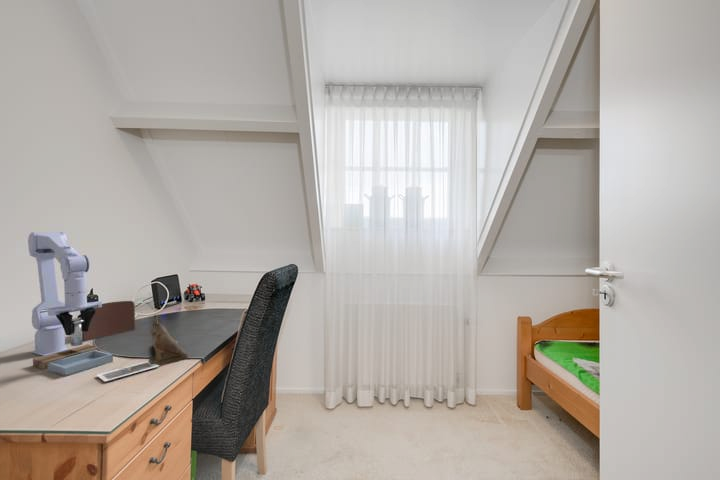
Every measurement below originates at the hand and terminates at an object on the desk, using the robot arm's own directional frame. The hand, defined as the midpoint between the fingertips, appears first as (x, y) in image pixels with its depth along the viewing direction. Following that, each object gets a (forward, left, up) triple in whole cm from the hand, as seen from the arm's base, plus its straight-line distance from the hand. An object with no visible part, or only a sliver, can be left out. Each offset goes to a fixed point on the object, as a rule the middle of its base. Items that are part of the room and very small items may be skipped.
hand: (77, 332), depth 118 cm
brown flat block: (-8, +1, -11) cm, 13 cm away
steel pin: (0, 0, -4) cm, 4 cm away
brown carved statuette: (+24, +16, -11) cm, 31 cm away
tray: (+3, 0, -11) cm, 11 cm away
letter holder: (-30, +25, -11) cm, 41 cm away
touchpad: (+22, +3, -11) cm, 25 cm away
